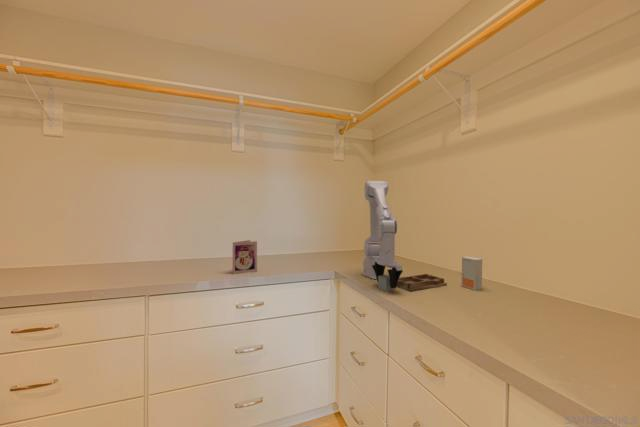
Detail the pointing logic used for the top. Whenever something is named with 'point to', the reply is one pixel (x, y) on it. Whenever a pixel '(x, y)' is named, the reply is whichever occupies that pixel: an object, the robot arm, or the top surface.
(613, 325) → the top surface
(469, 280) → the skincare box
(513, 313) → the top surface
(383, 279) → the slate block
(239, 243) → the greeting card
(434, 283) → the slot rack
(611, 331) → the top surface
